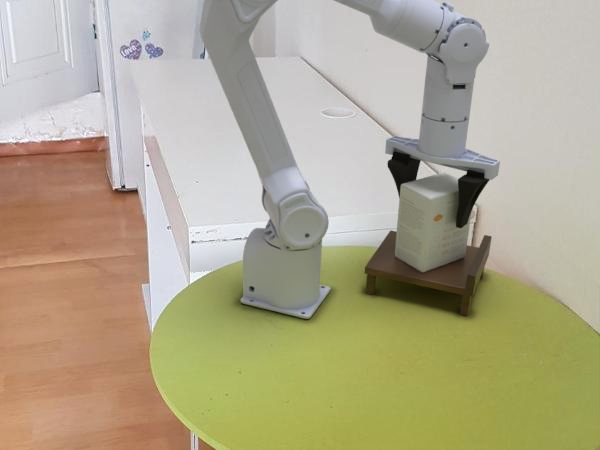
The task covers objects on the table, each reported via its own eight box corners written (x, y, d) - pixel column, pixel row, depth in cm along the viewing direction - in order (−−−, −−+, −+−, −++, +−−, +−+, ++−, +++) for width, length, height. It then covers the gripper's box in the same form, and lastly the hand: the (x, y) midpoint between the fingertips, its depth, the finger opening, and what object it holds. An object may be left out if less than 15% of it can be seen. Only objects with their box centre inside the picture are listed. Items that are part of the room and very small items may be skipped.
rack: (362, 293, 98) (365, 253, 96) (388, 255, 108) (391, 217, 106) (469, 318, 94) (475, 276, 91) (485, 275, 104) (491, 236, 101)
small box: (436, 242, 104) (445, 170, 99) (466, 258, 100) (476, 184, 95) (392, 256, 99) (399, 182, 95) (421, 274, 95) (430, 198, 91)
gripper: (515, 119, 90) (499, 221, 96) (407, 97, 98) (398, 193, 103) (492, 133, 85) (477, 241, 91) (380, 109, 92) (372, 210, 98)
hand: (433, 217), depth 97 cm, fingers open, 7 cm apart
